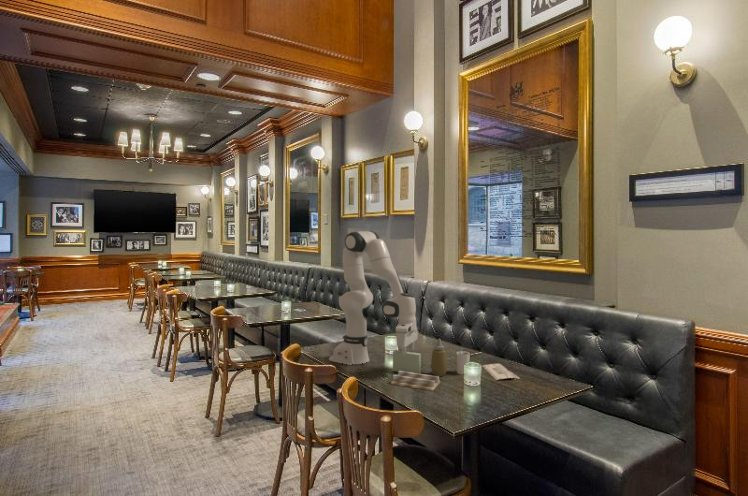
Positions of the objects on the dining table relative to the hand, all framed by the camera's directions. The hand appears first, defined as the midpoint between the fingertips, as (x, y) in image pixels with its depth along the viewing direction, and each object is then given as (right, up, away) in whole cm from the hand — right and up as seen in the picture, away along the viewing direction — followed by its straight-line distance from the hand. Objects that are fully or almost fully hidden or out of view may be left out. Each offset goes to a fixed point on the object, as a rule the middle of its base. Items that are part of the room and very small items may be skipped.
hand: (408, 352), depth 223 cm
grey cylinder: (+28, -10, 0) cm, 29 cm away
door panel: (-1, -10, +1) cm, 10 cm away
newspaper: (+47, -11, 0) cm, 48 cm away
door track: (+2, -11, -16) cm, 19 cm away
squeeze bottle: (+15, -10, -3) cm, 19 cm away
